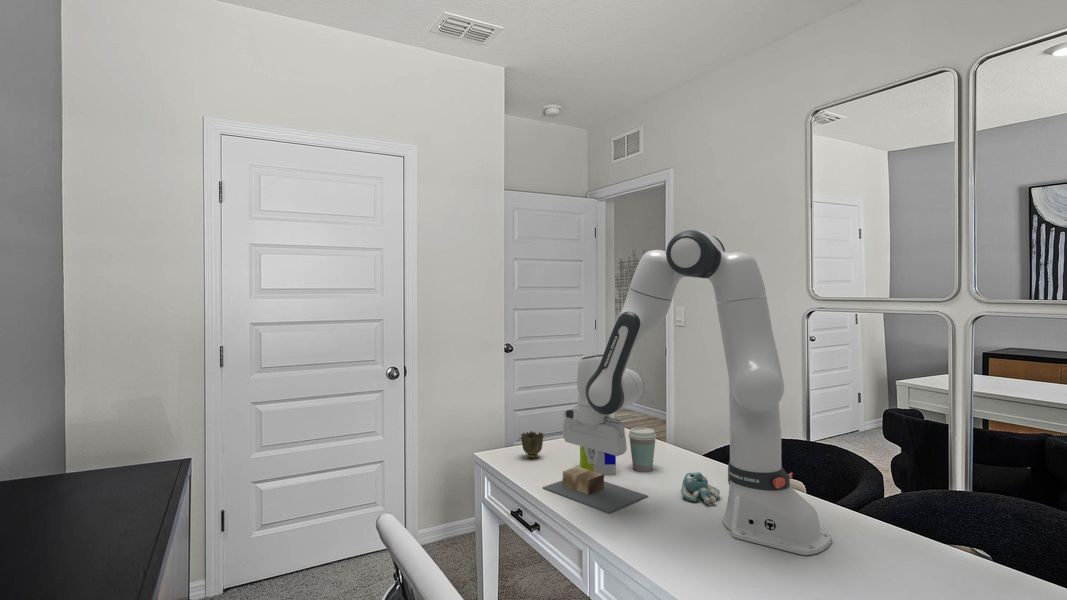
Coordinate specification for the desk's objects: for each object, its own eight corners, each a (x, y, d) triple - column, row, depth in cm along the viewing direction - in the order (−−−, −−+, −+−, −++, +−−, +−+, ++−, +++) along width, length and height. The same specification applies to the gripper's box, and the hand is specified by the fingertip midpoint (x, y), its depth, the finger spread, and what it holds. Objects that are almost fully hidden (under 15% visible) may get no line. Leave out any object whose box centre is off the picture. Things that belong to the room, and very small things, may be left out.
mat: (647, 496, 145) (648, 495, 145) (609, 513, 134) (609, 512, 134) (581, 475, 162) (581, 473, 162) (542, 488, 152) (542, 487, 152)
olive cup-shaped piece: (547, 456, 181) (547, 432, 181) (536, 462, 175) (536, 437, 175) (529, 453, 185) (528, 430, 185) (517, 459, 179) (516, 434, 179)
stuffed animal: (693, 488, 136) (672, 464, 148) (691, 514, 138) (670, 488, 149) (732, 485, 138) (708, 462, 150) (729, 510, 140) (706, 485, 151)
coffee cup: (655, 464, 172) (654, 427, 172) (658, 473, 163) (658, 433, 163) (627, 464, 173) (627, 426, 172) (629, 473, 164) (629, 433, 164)
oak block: (603, 474, 149) (577, 466, 157) (589, 480, 145) (562, 471, 153) (603, 489, 150) (577, 480, 157) (589, 494, 145) (562, 485, 153)
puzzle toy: (615, 475, 162) (615, 442, 162) (582, 475, 162) (582, 442, 162) (611, 465, 172) (611, 433, 172) (580, 465, 172) (579, 433, 172)
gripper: (631, 418, 142) (631, 471, 142) (574, 406, 157) (574, 454, 158) (616, 422, 138) (616, 476, 138) (559, 410, 153) (559, 458, 153)
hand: (593, 464), depth 148 cm, fingers closed
